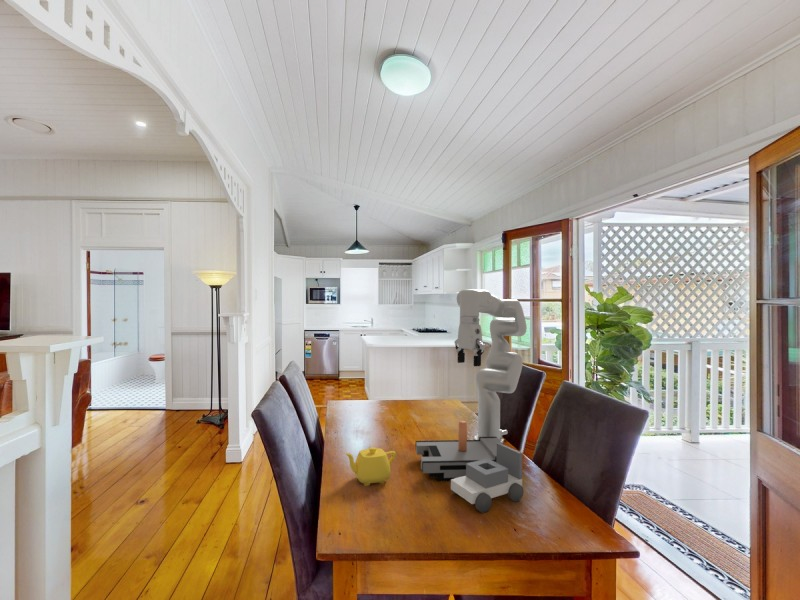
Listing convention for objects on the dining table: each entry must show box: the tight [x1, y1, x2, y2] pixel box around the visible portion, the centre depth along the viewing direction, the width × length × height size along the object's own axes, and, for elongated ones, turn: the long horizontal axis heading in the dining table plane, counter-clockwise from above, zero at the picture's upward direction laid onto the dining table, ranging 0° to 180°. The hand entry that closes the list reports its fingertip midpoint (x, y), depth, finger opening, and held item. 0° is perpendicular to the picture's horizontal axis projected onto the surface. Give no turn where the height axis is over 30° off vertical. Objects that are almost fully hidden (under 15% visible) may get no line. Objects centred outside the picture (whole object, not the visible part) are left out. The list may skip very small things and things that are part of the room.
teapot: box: [344, 446, 397, 487], centre depth 127 cm, size 18×11×11 cm, turn 110°
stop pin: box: [457, 420, 468, 451], centre depth 137 cm, size 3×3×10 cm
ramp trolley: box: [449, 443, 525, 514], centre depth 117 cm, size 20×13×14 cm, turn 119°
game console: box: [414, 437, 505, 482], centre depth 137 cm, size 21×32×8 cm, turn 95°
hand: (468, 364), depth 148 cm, fingers open, 9 cm apart
